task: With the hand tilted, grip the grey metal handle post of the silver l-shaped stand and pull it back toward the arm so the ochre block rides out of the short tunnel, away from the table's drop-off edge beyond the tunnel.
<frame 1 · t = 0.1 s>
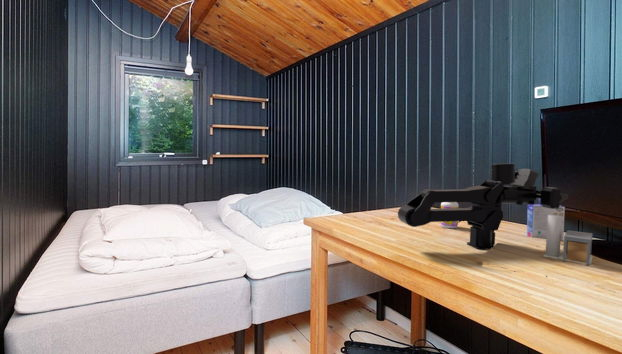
hand: (555, 194, 106), 17 cm above the table, tool horizontal, fingers open, 9 cm apart
block: (577, 259, 88), point 1 cm above the table, touching silver l-shaped stand
silver l-shaped stand: (568, 239, 89), point 6 cm above the table, slide at 0.0 cm, touching block
tunnel: (576, 263, 88), on the table
ink cartridge box: (544, 239, 114), on the table
supplement bottle: (448, 227, 133), on the table
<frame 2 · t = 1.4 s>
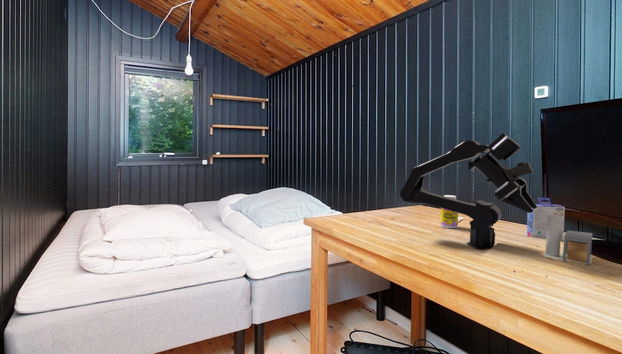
hand: (533, 210, 95), 13 cm above the table, tool tilted 45°, fingers open, 9 cm apart
nothing on the table moved.
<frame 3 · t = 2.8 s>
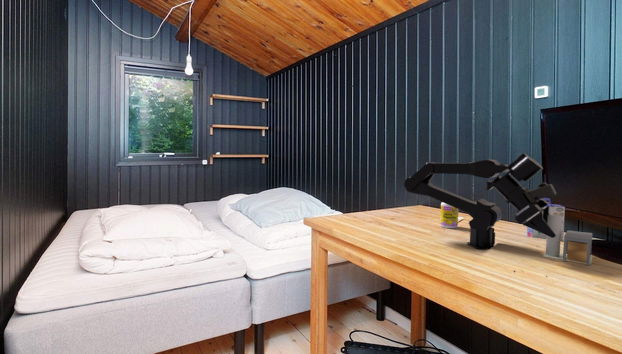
hand: (556, 233, 91), 7 cm above the table, tool tilted 45°, fingers open, 9 cm apart
nothing on the table moved.
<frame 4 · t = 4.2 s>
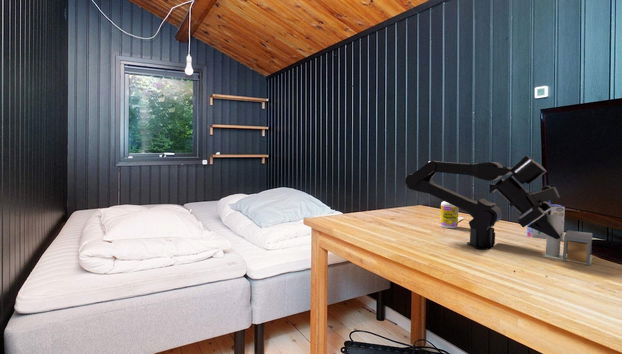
hand: (559, 237, 91), 7 cm above the table, tool tilted 45°, fingers closed on silver l-shaped stand, 3 cm apart
silver l-shaped stand: (568, 239, 89), point 6 cm above the table, slide at 0.0 cm, touching block, gripper
everything else where it was.
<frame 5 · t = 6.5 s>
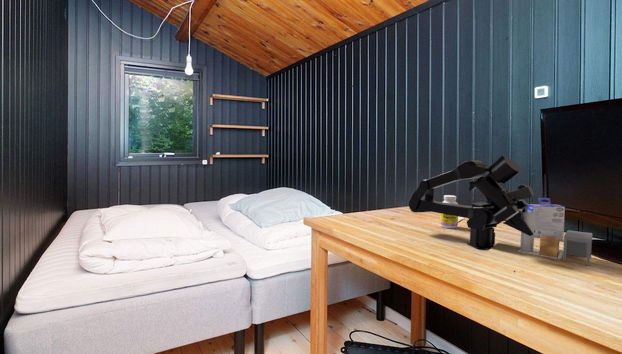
hand: (533, 233, 95), 6 cm above the table, tool tilted 45°, fingers closed on silver l-shaped stand, 3 cm apart
block: (549, 254, 93), point 1 cm above the table
silver l-shaped stand: (541, 235, 94), point 6 cm above the table, slide at 6.2 cm, touching gripper
everything else where it was.
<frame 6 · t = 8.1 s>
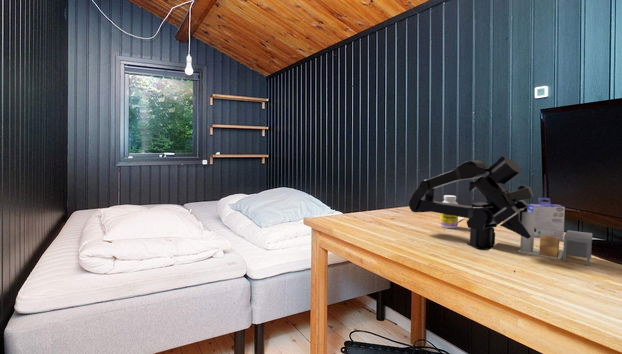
hand: (532, 234, 95), 6 cm above the table, tool tilted 45°, fingers open, 9 cm apart
block: (548, 254, 93), point 1 cm above the table, touching silver l-shaped stand
silver l-shaped stand: (541, 235, 94), point 6 cm above the table, slide at 6.2 cm, touching block
everything else where it was.
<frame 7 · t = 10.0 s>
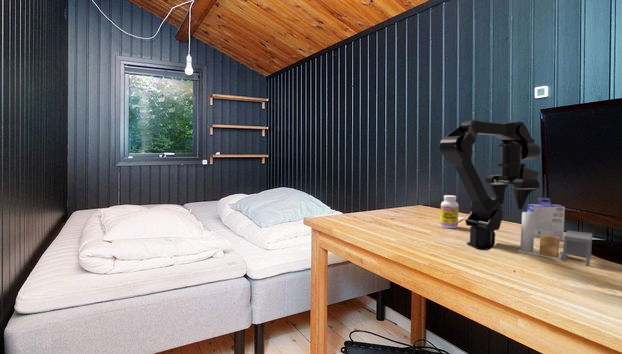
hand: (510, 206, 109), 12 cm above the table, tool pointing down, fingers open, 9 cm apart
nothing on the table moved.
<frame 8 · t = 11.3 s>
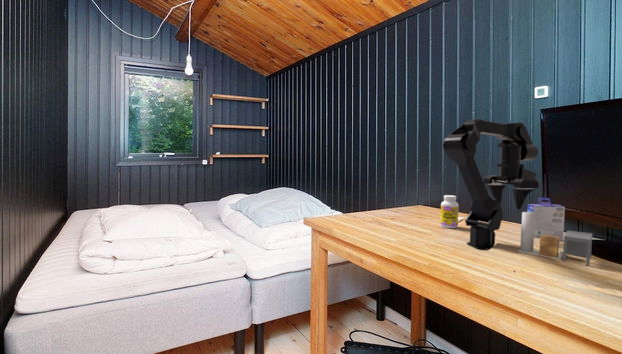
hand: (508, 207, 109), 12 cm above the table, tool pointing down, fingers open, 9 cm apart
nothing on the table moved.
at the end: silver l-shaped stand slide at 6.2 cm; block 0.2 cm from the target spot, point 1.2 cm above the table; block tilted 0° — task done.
